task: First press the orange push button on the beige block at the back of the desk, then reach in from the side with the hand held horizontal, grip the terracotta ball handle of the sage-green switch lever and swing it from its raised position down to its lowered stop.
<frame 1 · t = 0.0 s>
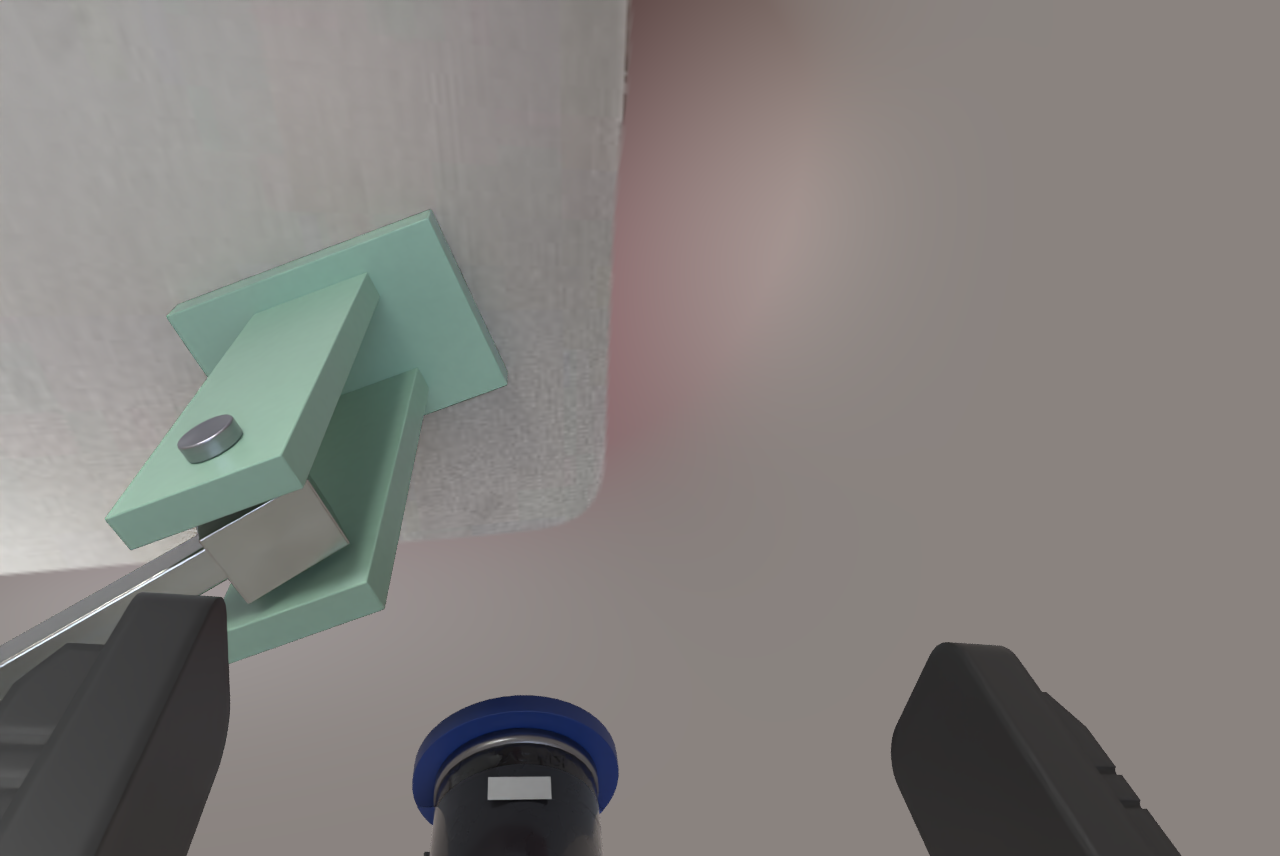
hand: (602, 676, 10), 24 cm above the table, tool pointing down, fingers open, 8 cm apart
switch bracket: (350, 339, 32), on the table
switch lever: (67, 640, 20), point 14 cm above the table, hinge at 24.0°
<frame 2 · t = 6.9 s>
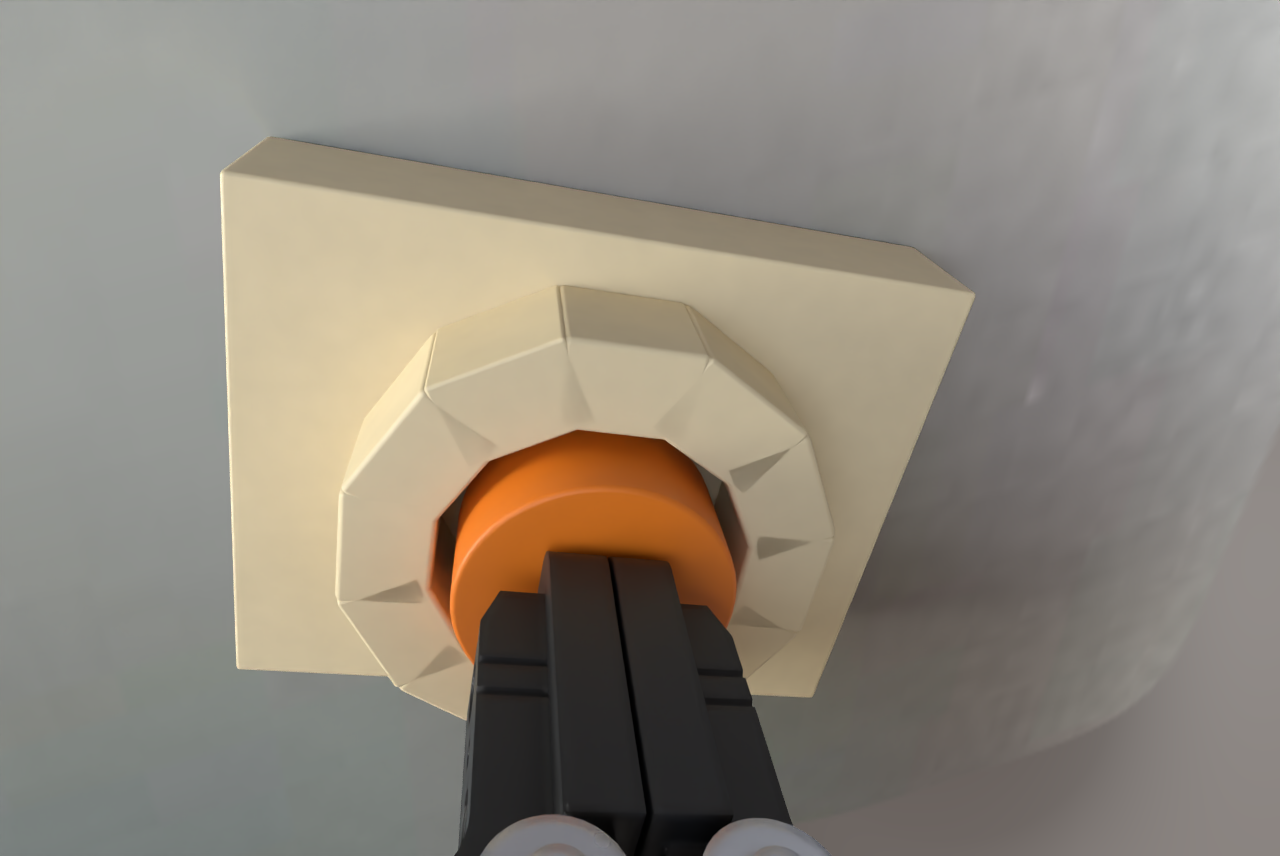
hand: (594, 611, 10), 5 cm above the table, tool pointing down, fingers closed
button block: (574, 423, 15), on the table
start button: (591, 564, 11), point 4 cm above the table, slide at -0.5 cm, touching gripper
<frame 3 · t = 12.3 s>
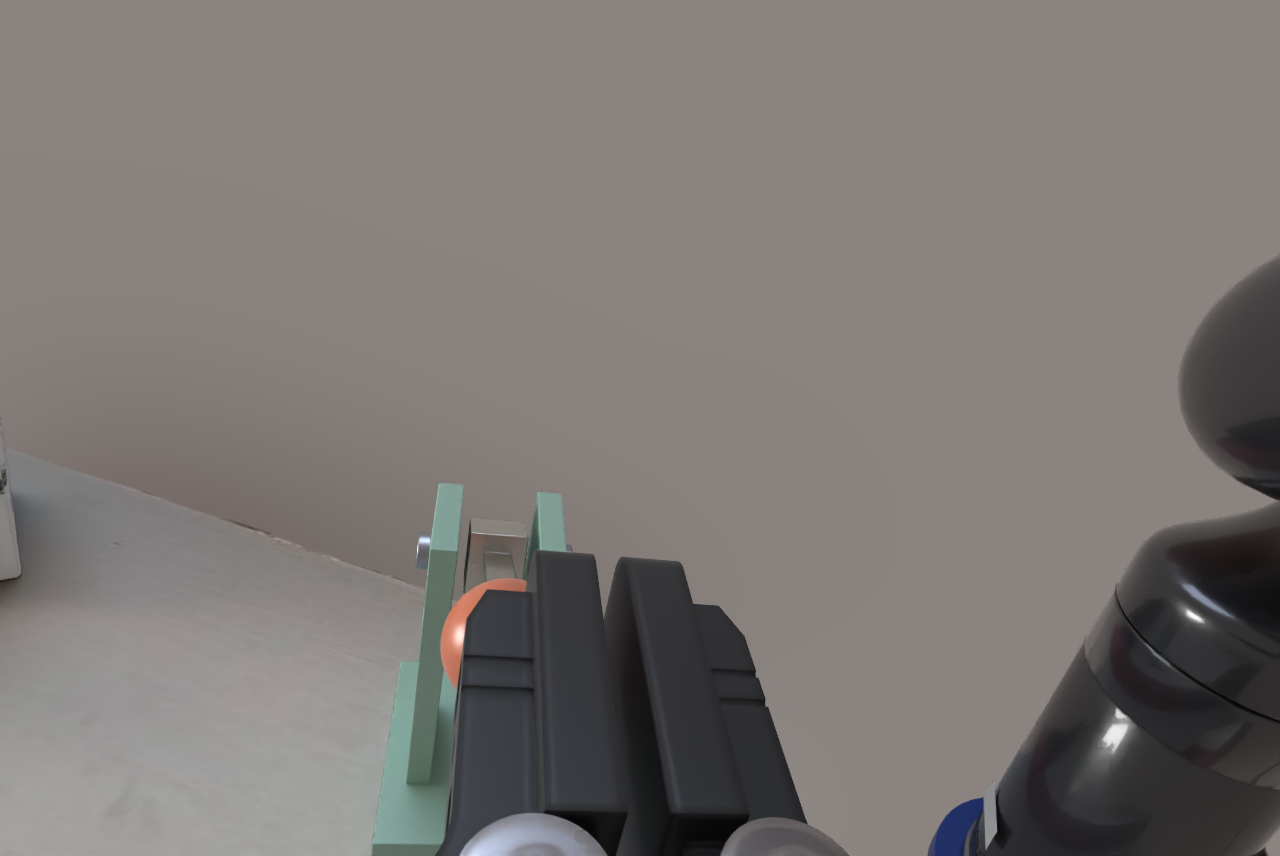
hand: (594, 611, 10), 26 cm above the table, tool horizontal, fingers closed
switch bracket: (464, 762, 39), on the table
switch lever: (499, 593, 28), point 14 cm above the table, hinge at 24.0°
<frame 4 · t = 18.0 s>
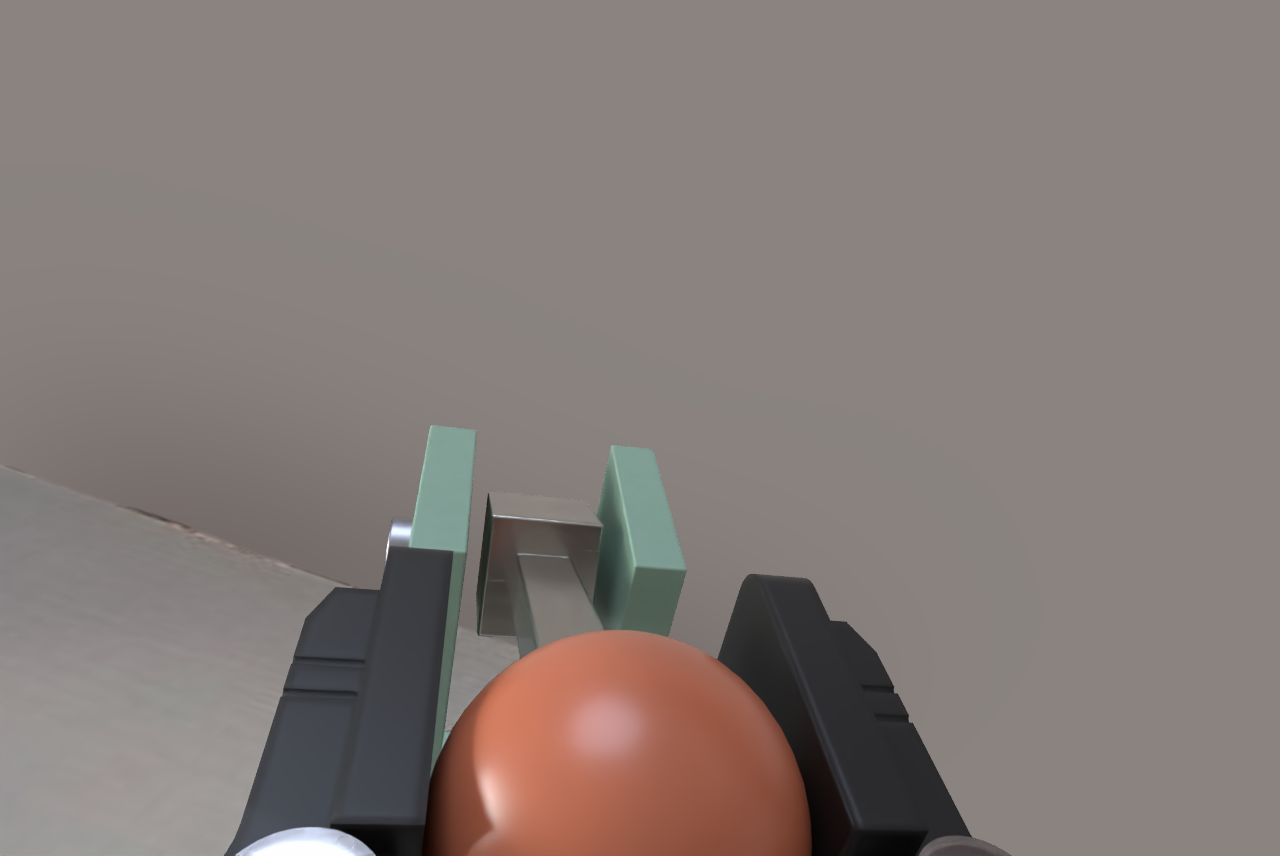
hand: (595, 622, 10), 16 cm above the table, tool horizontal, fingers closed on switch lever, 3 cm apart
switch lever: (562, 648, 13), point 14 cm above the table, hinge at 24.0°, touching gripper
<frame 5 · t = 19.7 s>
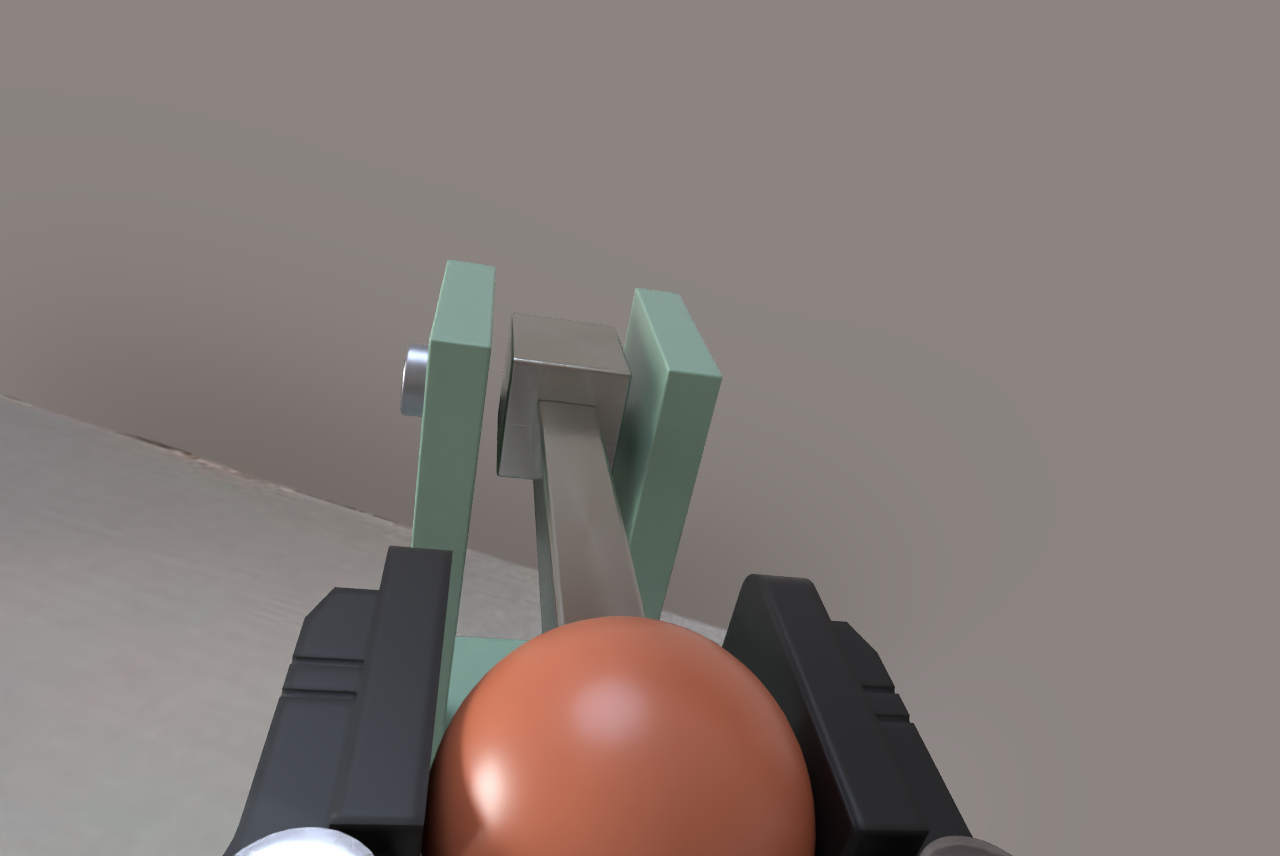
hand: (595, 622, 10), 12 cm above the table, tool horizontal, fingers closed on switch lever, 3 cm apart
switch bracket: (491, 803, 22), on the table
switch lever: (579, 536, 12), point 12 cm above the table, hinge at 3.1°, touching gripper
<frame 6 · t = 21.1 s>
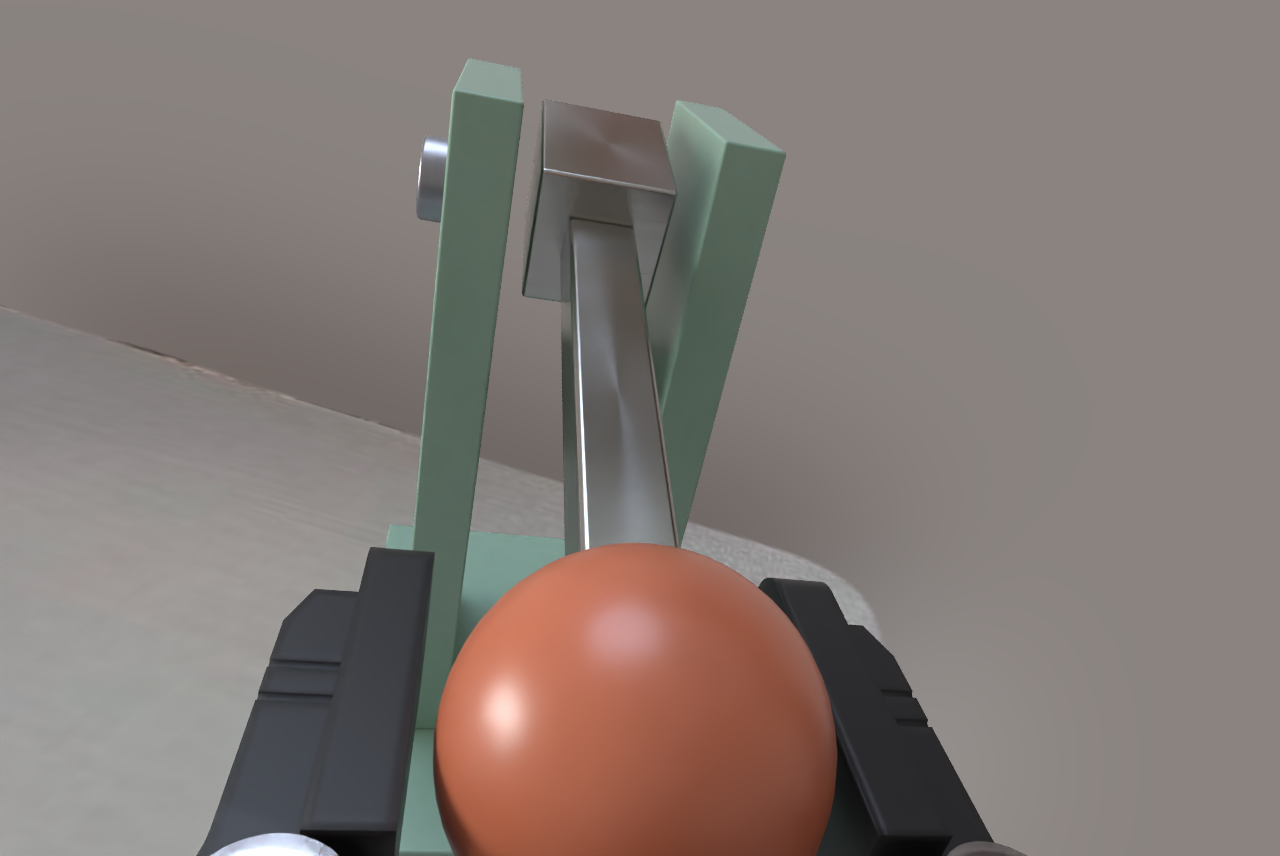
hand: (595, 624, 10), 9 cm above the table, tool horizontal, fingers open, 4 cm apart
switch bracket: (509, 695, 20), on the table
switch lever: (608, 397, 11), point 11 cm above the table, hinge at -14.4°
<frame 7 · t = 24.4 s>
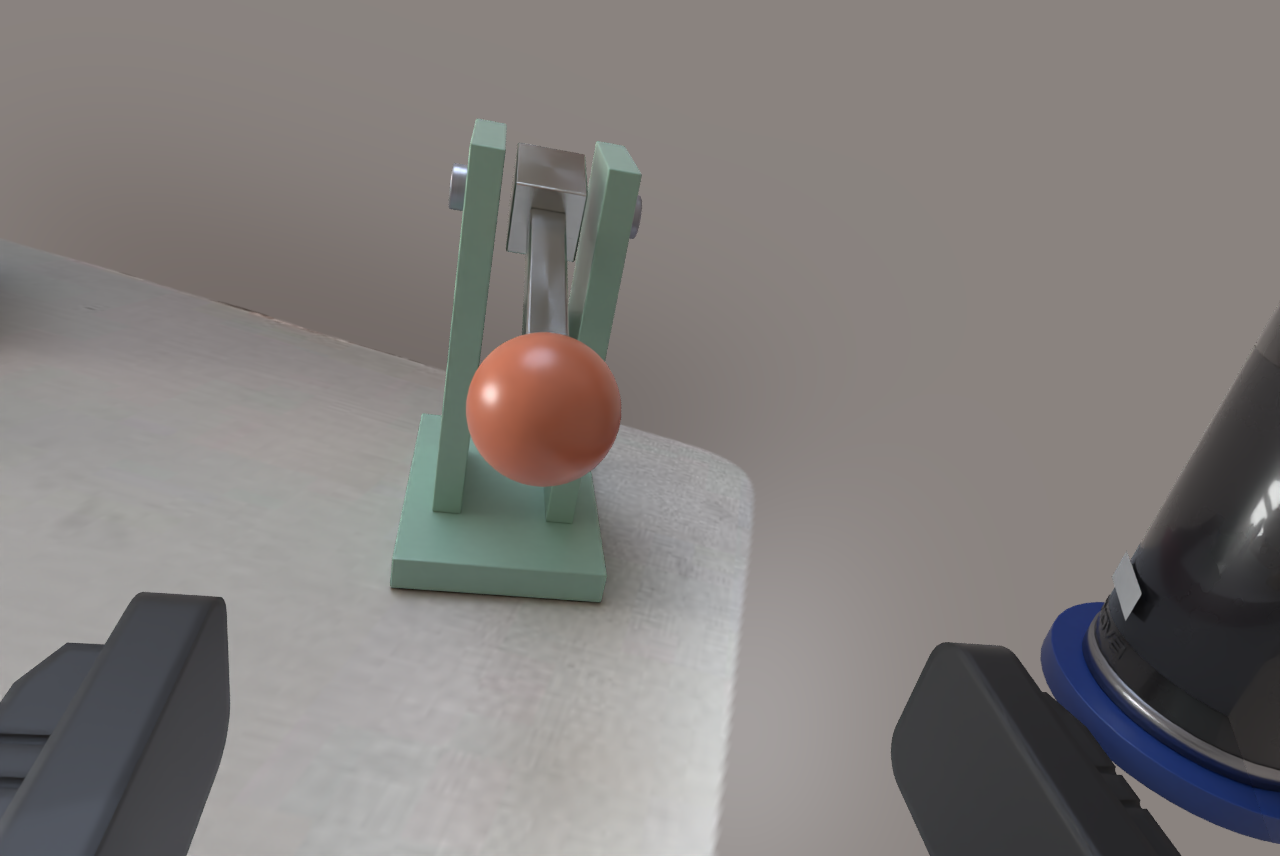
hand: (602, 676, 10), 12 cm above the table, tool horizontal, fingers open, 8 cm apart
switch bracket: (500, 511, 32), on the table
switch lever: (545, 293, 23), point 11 cm above the table, hinge at -14.4°
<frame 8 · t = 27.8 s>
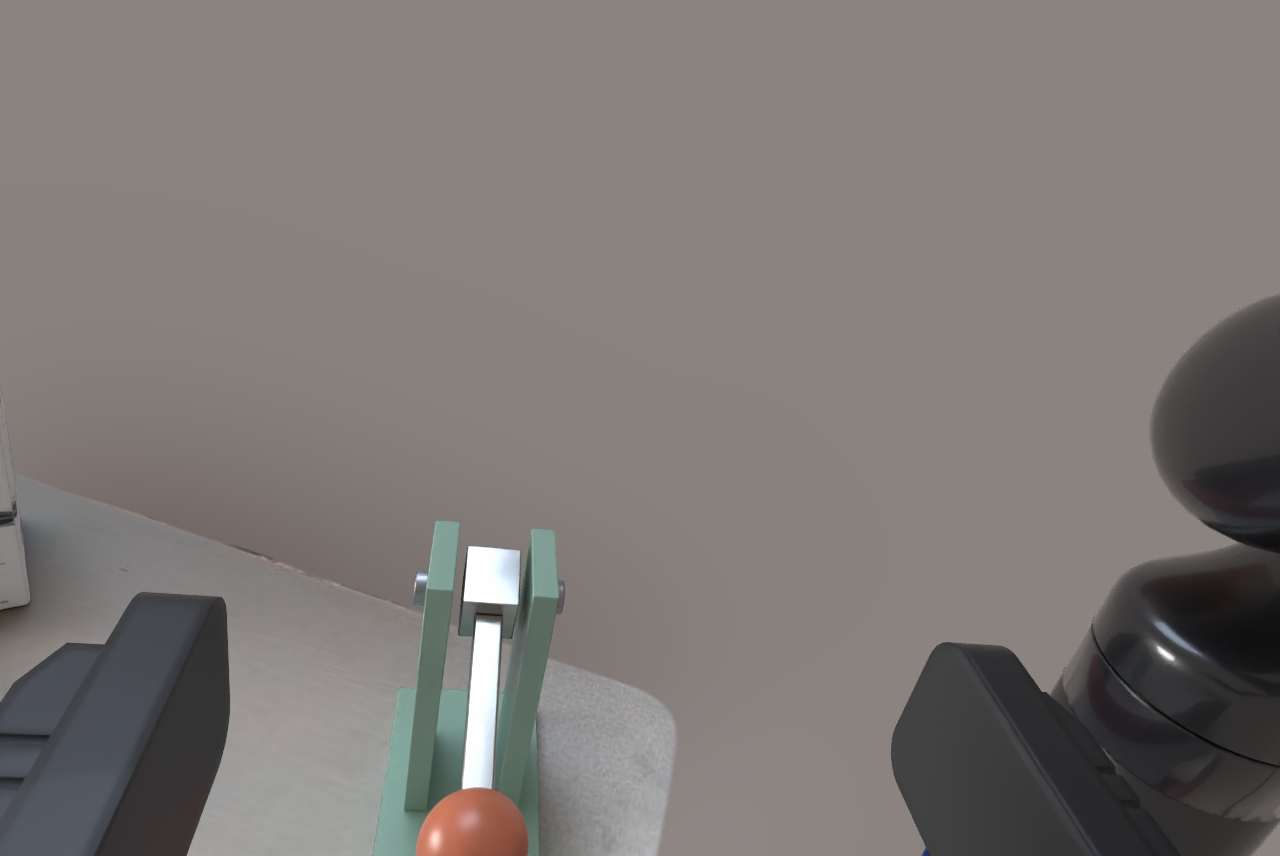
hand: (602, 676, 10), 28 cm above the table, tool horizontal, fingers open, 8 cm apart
switch bracket: (461, 787, 40), on the table
switch lever: (482, 709, 31), point 11 cm above the table, hinge at -14.4°
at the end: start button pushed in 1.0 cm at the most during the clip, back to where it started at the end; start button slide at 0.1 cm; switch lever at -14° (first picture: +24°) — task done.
